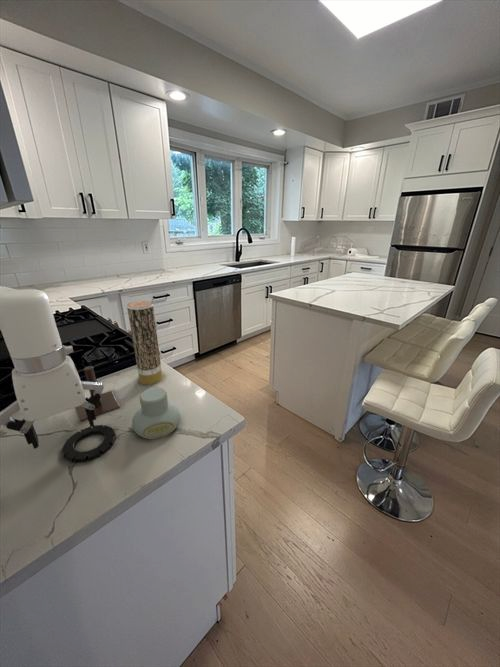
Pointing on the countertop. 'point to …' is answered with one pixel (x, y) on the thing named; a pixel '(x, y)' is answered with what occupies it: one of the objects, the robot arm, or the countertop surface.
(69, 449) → the ring
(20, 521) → the countertop surface
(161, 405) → the air freshener
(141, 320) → the patterned tall cylinder
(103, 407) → the holder
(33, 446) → the robot arm
